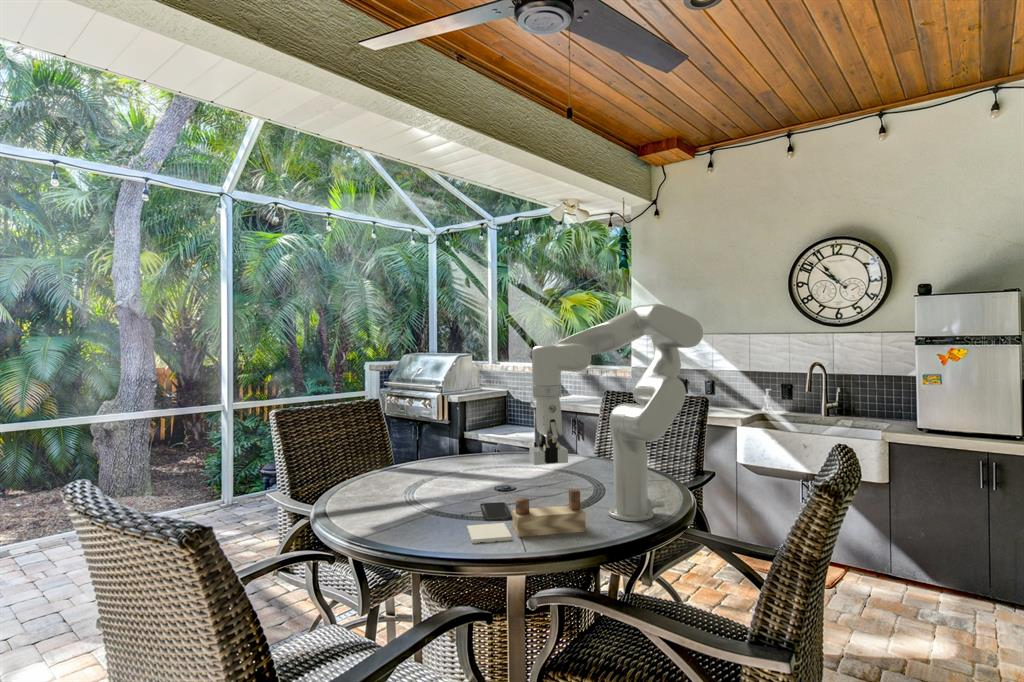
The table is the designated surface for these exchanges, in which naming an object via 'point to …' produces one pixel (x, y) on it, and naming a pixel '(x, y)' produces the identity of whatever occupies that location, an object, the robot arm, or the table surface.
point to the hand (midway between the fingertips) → (548, 459)
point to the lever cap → (539, 455)
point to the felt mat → (489, 533)
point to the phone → (495, 511)
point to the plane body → (549, 517)
